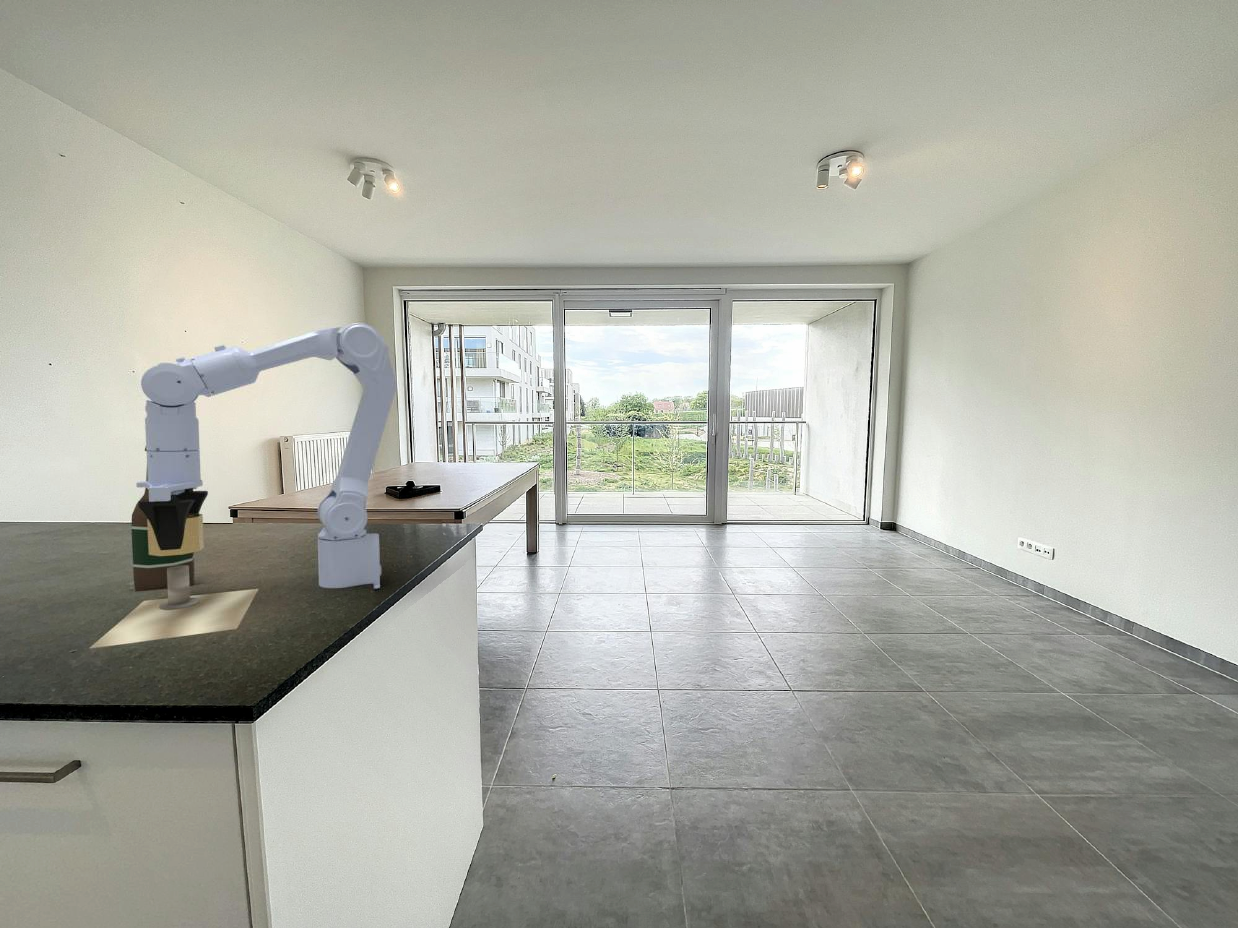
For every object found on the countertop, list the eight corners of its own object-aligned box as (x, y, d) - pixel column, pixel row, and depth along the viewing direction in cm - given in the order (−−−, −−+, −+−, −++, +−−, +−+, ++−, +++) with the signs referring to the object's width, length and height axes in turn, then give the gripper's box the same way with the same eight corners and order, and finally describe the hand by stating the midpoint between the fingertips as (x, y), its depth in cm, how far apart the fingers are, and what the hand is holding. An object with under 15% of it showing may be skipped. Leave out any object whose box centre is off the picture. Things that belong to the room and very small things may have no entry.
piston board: (258, 594, 82) (257, 555, 81) (237, 635, 66) (235, 587, 65) (144, 607, 75) (142, 564, 75) (89, 656, 59) (86, 602, 59)
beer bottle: (143, 599, 79) (135, 444, 77) (126, 589, 83) (119, 443, 81) (204, 586, 85) (199, 444, 84) (185, 578, 89) (180, 442, 88)
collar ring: (206, 545, 77) (205, 512, 77) (196, 553, 72) (195, 518, 72) (158, 548, 74) (157, 514, 74) (144, 557, 69) (142, 521, 69)
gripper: (153, 448, 77) (157, 536, 78) (115, 453, 64) (120, 559, 65) (212, 448, 80) (215, 533, 81) (187, 453, 67) (190, 553, 68)
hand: (177, 544), depth 73 cm, fingers closed on collar ring, 6 cm apart
